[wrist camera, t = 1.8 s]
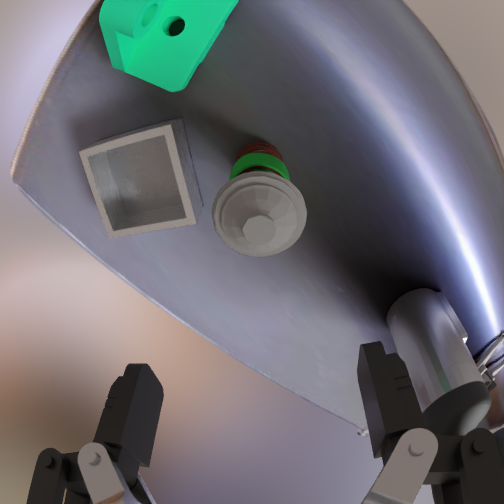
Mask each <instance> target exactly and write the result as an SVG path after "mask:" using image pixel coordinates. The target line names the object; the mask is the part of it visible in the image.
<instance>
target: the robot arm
mask: <svg viewBox="0 0 504 504" xmlns="http://www.w3.org/2000/svg"><path fill="white" fill-rule="evenodd" d="M387 325H388V327H389V330H390V333H391V336H392V338H393V340H394V343H395V346H396V349H397V351H398V354H399V356H398V355H397V353H392V354H387V355H386V353H385V350H384V347H383V345H382V343H381V341H377V342H372V343H367V344H361V345H360V350H359V359H358V367H357V375H358V383H359V387H360V392H361V396H362V401H363V405H364V410H365V415H366V419H367V424H368V429H369V434H370V439H371V445H372V450H373V455H374V458H379V457H382V460H383V465H384V467H383V468H382V470H381V472H380V474H379V475H378V477H377V479H376V480H375V482H374V484H373V485H372V487H371V488H370V490H369V492H368V493H367V495H366V496H365V498H364V500H363V501H362V503H361V504H412V503H413V501H414V500H415V498H416V496H417V494H418V492H419V490H420V488H421V486H422V484H426V485H428V484H431V487H432V493H433V499H434V503H435V504H504V428H502V429H500V430H498V431H496V432H495V433H493V434H492V433H491V432H490V431H489V430H487V429H484V428H476V426H477V425H478V424H479V422H480V421H481V420H482V419H483V417H484V416H485V415H486V413H487V412H488V410H489V408H490V405H491V396H490V393H489V391H488V388H487V386H486V384H485V382H484V380H483V378H482V376H481V374H480V372H479V370H478V368H477V366H476V364H475V362H474V360H473V358H472V356H471V354H470V352H469V350H468V348H467V346H466V344H465V342H466V340H467V337H468V336H467V333H466V331H465V329H464V328H463V326H462V324H461V322H460V321H459V319H458V317H457V316H456V314H455V312H454V311H453V309H452V307H451V306H450V304H449V302H448V301H447V299H446V297H445V296H444V294H443V293H442V292H435V291H433V290H432V289H428V288H419V289H415V290H412V291H409V292H407V293H406V294H404V295H402V296H401V297H400V298H398V299H397V300H396V301H395V302H394V303H393V305H392V306H391V307H390V309H389V311H388V314H387ZM163 397H164V393H163V387H162V385H161V383H160V382H159V380H158V379H157V377H156V376H155V374H154V373H153V371H152V370H151V368H150V366H149V365H148V364H128V365H127V367H126V369H125V372H124V375H123V376H119V377H118V378H117V379H116V381H115V382H114V383H113V385H112V386H111V388H110V391H109V394H108V399H107V400H106V403H105V408H104V409H103V412H102V415H101V418H100V422H99V425H98V428H97V431H96V434H95V438H94V440H93V442H92V443H89V444H87V445H85V446H84V447H83V448H82V449H81V450H80V452H73V453H66V454H62V453H60V452H59V451H57V450H56V449H54V448H47V449H45V450H43V451H42V452H41V453H40V455H39V456H38V459H37V463H36V466H35V470H34V474H33V478H32V482H31V486H30V490H29V495H28V499H27V504H62V502H63V496H64V491H65V488H66V489H67V492H66V497H65V503H64V504H156V503H155V501H154V499H153V497H152V496H151V494H150V492H149V491H148V489H147V487H146V485H145V483H144V482H143V480H142V478H141V476H140V474H139V473H138V470H139V466H142V467H149V464H150V459H151V454H152V449H153V445H154V439H155V434H156V430H157V424H158V420H159V416H160V411H161V406H162V402H163ZM475 428H476V429H475Z"/></svg>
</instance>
